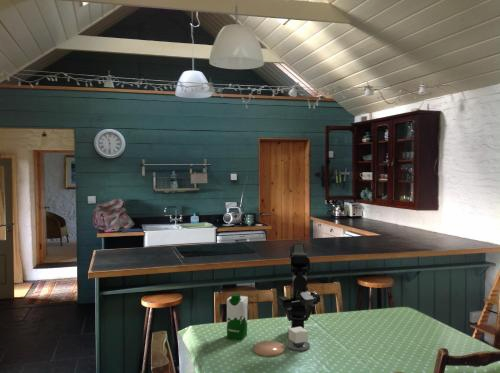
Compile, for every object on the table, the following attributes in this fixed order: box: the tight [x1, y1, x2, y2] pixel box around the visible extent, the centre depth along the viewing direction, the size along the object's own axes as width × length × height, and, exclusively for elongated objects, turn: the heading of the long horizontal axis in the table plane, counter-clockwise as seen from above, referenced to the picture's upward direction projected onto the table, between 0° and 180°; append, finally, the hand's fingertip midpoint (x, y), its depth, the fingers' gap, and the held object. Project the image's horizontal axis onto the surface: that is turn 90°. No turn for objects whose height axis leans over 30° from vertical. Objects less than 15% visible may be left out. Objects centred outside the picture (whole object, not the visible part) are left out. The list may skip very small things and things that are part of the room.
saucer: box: [253, 340, 286, 358], centre depth 183 cm, size 13×13×1 cm
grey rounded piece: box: [285, 339, 311, 352], centre depth 186 cm, size 10×10×6 cm
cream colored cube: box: [288, 327, 309, 343], centre depth 186 cm, size 6×6×4 cm
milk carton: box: [226, 293, 249, 342], centre depth 196 cm, size 9×9×20 cm
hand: (298, 319), depth 186 cm, fingers open, 9 cm apart
